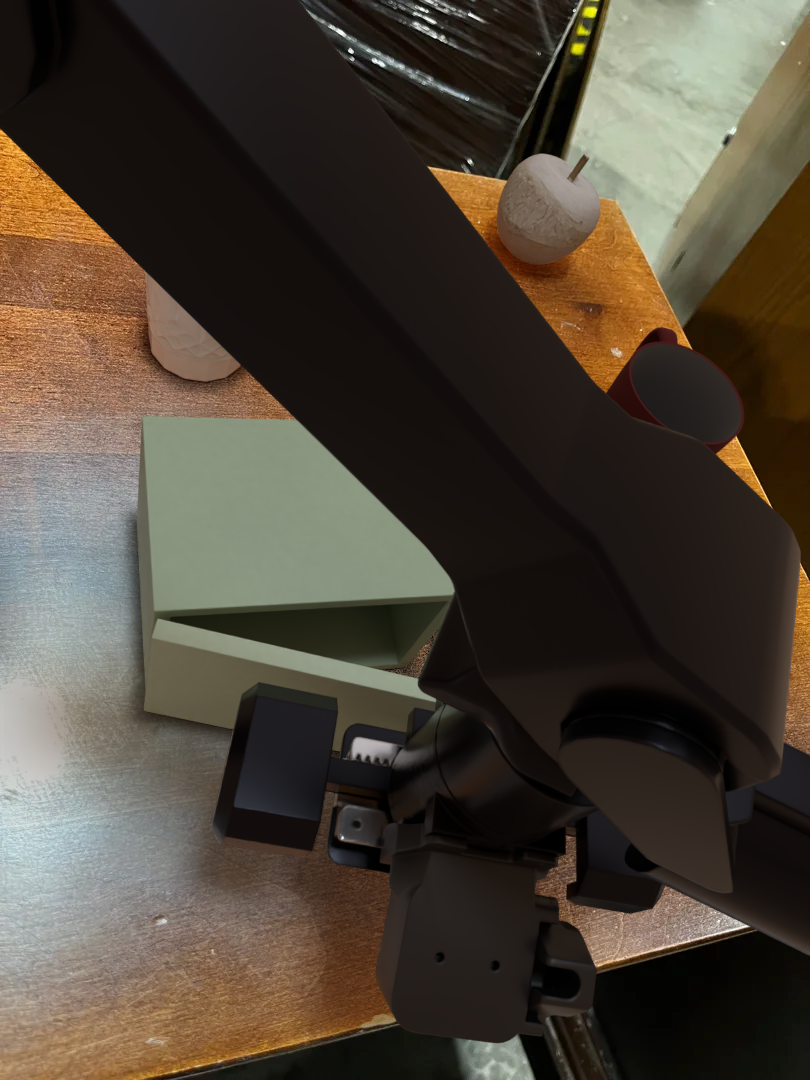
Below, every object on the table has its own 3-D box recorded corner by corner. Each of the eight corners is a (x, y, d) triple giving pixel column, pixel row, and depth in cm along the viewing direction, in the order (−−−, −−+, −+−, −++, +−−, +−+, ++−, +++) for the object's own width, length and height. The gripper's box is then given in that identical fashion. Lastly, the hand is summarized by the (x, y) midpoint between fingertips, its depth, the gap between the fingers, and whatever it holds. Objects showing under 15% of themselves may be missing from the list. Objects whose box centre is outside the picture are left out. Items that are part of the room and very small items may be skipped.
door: (402, 861, 45) (470, 824, 36) (114, 809, 41) (114, 754, 33) (414, 750, 48) (479, 692, 39) (148, 693, 45) (157, 618, 36)
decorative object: (470, 255, 73) (515, 158, 65) (496, 205, 78) (541, 109, 70) (557, 300, 73) (613, 210, 65) (577, 247, 78) (631, 157, 70)
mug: (549, 395, 67) (618, 297, 58) (644, 419, 69) (724, 327, 60) (558, 516, 61) (636, 427, 52) (662, 538, 63) (755, 456, 54)
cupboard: (406, 667, 51) (467, 594, 42) (145, 690, 45) (153, 611, 36) (375, 516, 56) (424, 423, 47) (136, 520, 50) (141, 415, 41)
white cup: (236, 403, 57) (257, 299, 49) (124, 367, 55) (126, 253, 47) (264, 326, 61) (287, 219, 53) (160, 291, 60) (168, 175, 51)
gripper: (182, 977, 22) (168, 994, 35) (785, 1060, 25) (567, 1047, 38) (264, 613, 28) (226, 743, 41) (743, 718, 31) (567, 807, 44)
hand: (396, 837), depth 41 cm, fingers closed
